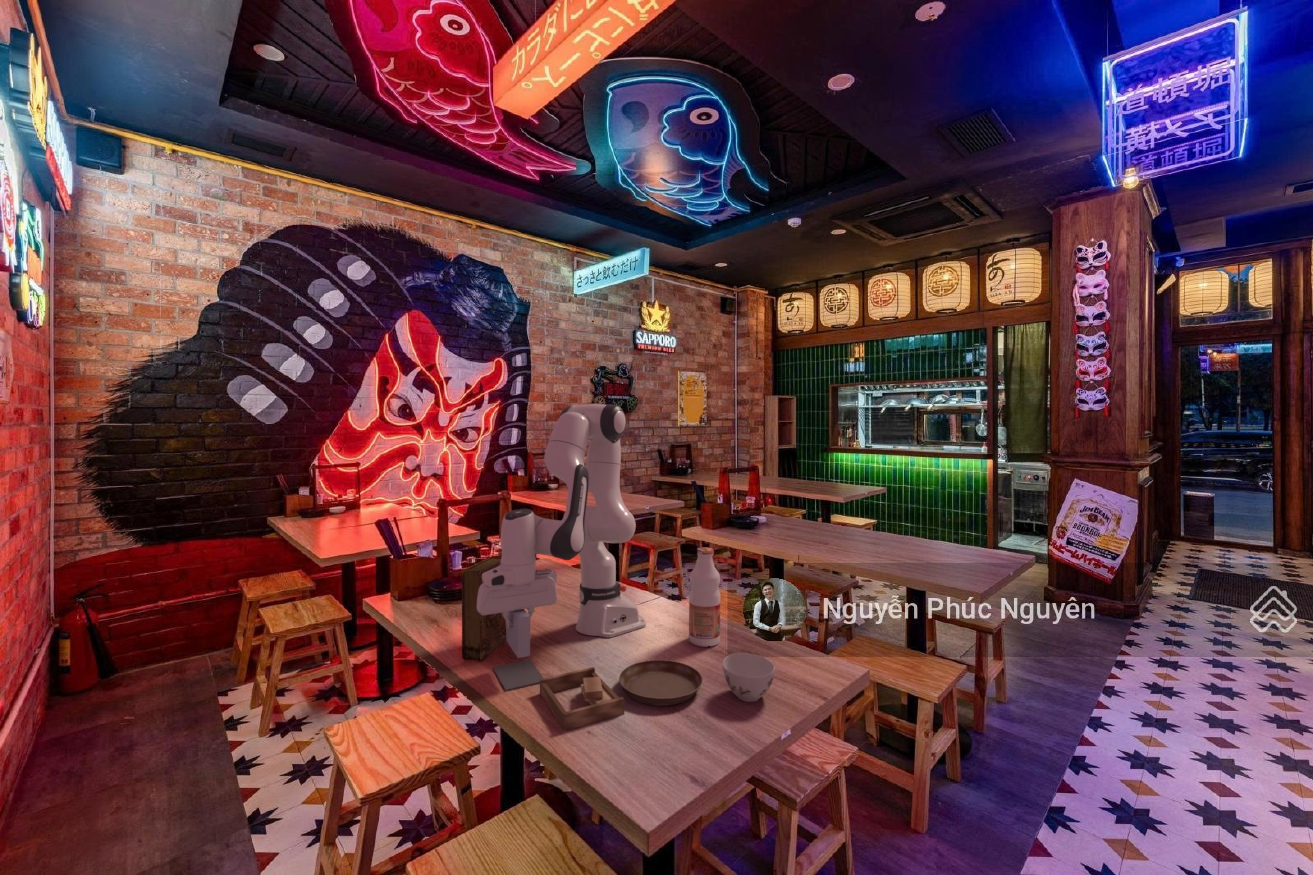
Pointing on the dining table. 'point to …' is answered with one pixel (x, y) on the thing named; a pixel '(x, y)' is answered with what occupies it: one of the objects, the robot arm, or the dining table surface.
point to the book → (479, 615)
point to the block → (519, 633)
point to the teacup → (748, 675)
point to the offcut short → (592, 688)
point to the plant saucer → (660, 682)
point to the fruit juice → (704, 601)
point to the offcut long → (605, 698)
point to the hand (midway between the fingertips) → (517, 626)
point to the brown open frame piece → (585, 713)
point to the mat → (518, 674)
